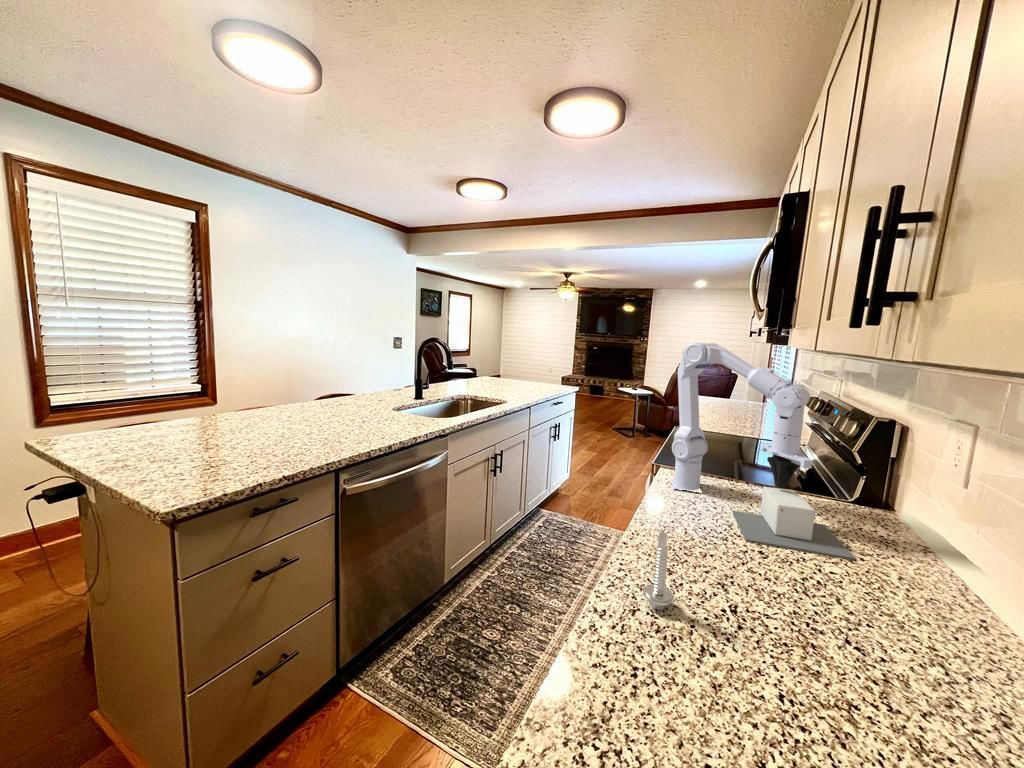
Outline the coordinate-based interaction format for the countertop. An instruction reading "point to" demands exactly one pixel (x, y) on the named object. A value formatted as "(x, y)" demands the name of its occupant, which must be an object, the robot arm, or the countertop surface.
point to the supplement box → (787, 513)
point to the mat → (762, 533)
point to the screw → (659, 578)
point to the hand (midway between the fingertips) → (780, 486)
